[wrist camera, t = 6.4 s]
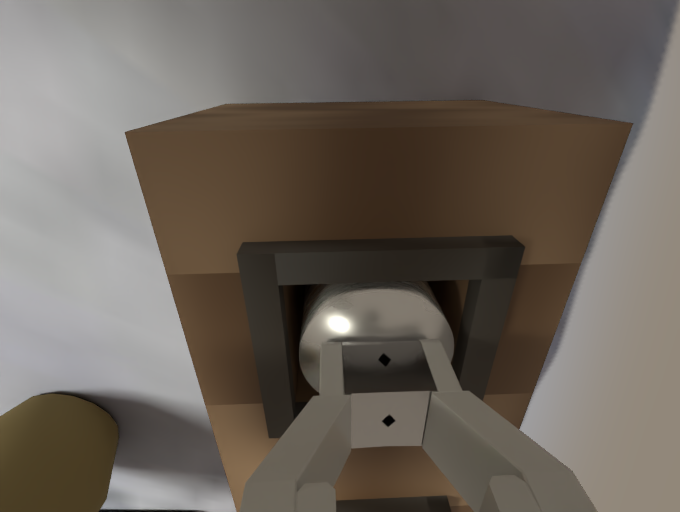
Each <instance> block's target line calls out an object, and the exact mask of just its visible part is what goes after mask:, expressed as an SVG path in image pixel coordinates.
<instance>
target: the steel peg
mask: <svg viewBox="0 0 680 512" xmlns="http://www.w3.org/2000/svg"><path fill="white" fill-rule="evenodd" d="M423 339H439V340H440V341H441V343H442V345H443V347H444V349H445V352H446V354H447V356H448V359H449V361H450V363H451V360H452V357H453V353H454V338H453V334H452V330H451V328H450V326H449V324H448V322H447V320H446V318H445V316H444V314H443V312H442V310H441V307H440V305H439V303H438V301H437V299H436V297H435V295H434V293H433V291H432V289H431V287H430V285H429V283H428V281H407V282H372V283H338V284H306V286H305V296H304V306H303V316H302V326H301V336H300V346H299V362H300V367H301V370H302V372H303V375H304V376H305V378H306V380H307V381H308V382H309V384H310V385H311V386H312V387H313V388H314V389H315V390H316V391H317V392H319V391H320V351H321V343H322V342H341V344H342V342H379V341H405V340H423Z"/></svg>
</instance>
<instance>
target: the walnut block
mask: <svg viewBox="0 0 680 512" xmlns="http://www.w3.org/2000/svg"><path fill="white" fill-rule="evenodd" d="M632 125H633V123H628V122H621V121H615V120H608V119H602V118H595V117H589V116H582V115H576V114H569V113H563V112H556V111H550V110H543V109H537V108H530V107H524V106H517V105H511V104H504V103H498V102H492V101H485V100H454V101H388V102H322V103H256V104H224V105H220V106H217V107H213V108H210V109H206V110H202V111H199V112H195V113H192V114H188V115H184V116H181V117H177V118H174V119H170V120H166V121H163V122H159V123H156V124H152V125H148V126H145V127H141V128H138V129H134V130H130V131H127V132H125V135H126V139H127V142H128V145H129V149H130V152H131V155H132V159H133V162H134V166H135V169H136V172H137V176H138V179H139V182H140V186H141V189H142V193H143V196H144V199H145V203H146V206H147V209H148V213H149V216H150V220H151V223H152V226H153V230H154V233H155V237H156V240H157V243H158V247H159V250H160V253H161V257H162V260H163V264H164V267H165V270H166V274H167V277H168V280H169V284H170V287H171V291H172V294H173V297H174V301H175V304H176V307H177V311H178V314H179V318H180V321H181V324H182V328H183V331H184V335H185V338H186V341H187V345H188V348H189V351H190V355H191V358H192V362H193V365H194V368H195V372H196V375H197V378H198V382H199V385H200V389H201V392H202V395H203V399H204V402H205V405H206V409H207V412H208V416H209V419H210V422H211V426H212V429H213V433H214V436H215V439H216V443H217V446H218V449H219V453H220V456H221V460H222V463H223V466H224V470H225V473H226V476H227V480H228V483H229V487H230V490H231V493H232V497H233V500H234V504H235V507H236V510H237V512H239V511H240V506H241V501H242V497H243V492H244V487H245V483H246V482H247V480H248V479H249V478H250V476H251V475H252V474H253V473H254V471H255V470H256V469H257V467H258V466H259V465H260V464H261V462H262V461H263V460H264V458H265V457H266V456H267V455H268V453H269V452H270V451H271V449H272V448H273V447H274V446H275V444H276V443H277V442H278V440H279V439H280V438H281V437H282V435H283V434H284V433H285V431H286V430H287V429H288V428H289V426H290V425H291V424H292V422H293V421H294V420H295V419H296V417H297V416H298V415H299V413H300V412H301V411H302V410H303V408H304V407H305V406H306V405H307V403H308V402H309V401H310V399H311V398H312V397H313V396H319V392H317V391H316V390H315V389H314V388H313V387H312V386H311V385H310V384H309V382H308V381H307V380H306V378H305V376H304V375H303V372H302V370H301V367H300V362H299V346H300V336H301V326H302V316H303V306H304V296H305V286H306V284H338V283H372V282H407V281H428V283H429V285H430V287H431V289H432V291H433V293H434V295H435V297H436V299H437V301H438V303H439V305H440V307H441V310H442V312H443V314H444V316H445V318H446V320H447V322H448V324H449V326H450V328H451V330H452V334H453V338H454V353H453V357H452V360H451V365H452V368H453V370H454V372H455V375H456V377H457V379H458V381H459V384H460V386H461V388H462V391H470V392H471V393H473V394H474V395H475V396H476V397H478V398H479V399H480V400H482V401H483V402H484V403H485V404H487V405H488V406H489V407H491V408H492V409H493V410H494V411H496V412H497V413H498V414H500V415H501V416H502V417H503V418H505V419H506V420H507V421H509V422H510V423H511V424H513V425H514V426H515V427H516V428H518V429H520V426H521V423H522V420H523V418H524V415H525V412H526V410H527V407H528V404H529V402H530V399H531V396H532V394H533V391H534V388H535V386H536V383H537V380H538V378H539V375H540V372H541V369H542V367H543V364H544V361H545V359H546V356H547V353H548V351H549V348H550V345H551V343H552V340H553V337H554V335H555V332H556V329H557V326H558V324H559V321H560V318H561V316H562V313H563V310H564V308H565V305H566V302H567V300H568V297H569V294H570V292H571V289H572V286H573V284H574V281H575V278H576V275H577V273H578V270H579V267H580V265H581V262H582V259H583V257H584V254H585V251H586V249H587V246H588V243H589V241H590V238H591V235H592V232H593V230H594V227H595V224H596V222H597V219H598V216H599V214H600V211H601V208H602V206H603V203H604V200H605V198H606V195H607V192H608V190H609V187H610V184H611V181H612V179H613V176H614V173H615V171H616V168H617V165H618V163H619V160H620V157H621V155H622V152H623V149H624V147H625V144H626V141H627V138H628V136H629V133H630V130H631V128H632ZM333 488H334V489H335V492H336V512H474V511H473V510H472V509H471V507H470V506H469V505H468V504H467V502H466V501H465V500H464V499H463V498H462V496H461V495H460V494H459V493H458V491H457V490H456V489H455V488H454V486H453V485H452V484H451V483H450V481H449V480H448V479H447V478H446V477H445V475H444V474H443V473H442V472H441V470H440V469H439V468H438V467H437V465H436V464H435V463H434V462H433V461H432V459H431V458H430V457H429V456H428V454H427V453H426V452H425V451H424V449H423V448H422V446H381V447H366V448H352V449H351V452H350V454H349V456H348V458H347V460H346V462H345V465H344V467H343V469H342V471H341V473H340V475H339V477H338V479H337V481H336V483H335V485H334V487H333Z"/></svg>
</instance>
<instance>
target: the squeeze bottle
mask: <svg viewBox="0 0 680 512" xmlns="http://www.w3.org/2000/svg"><path fill="white" fill-rule="evenodd" d="M118 439H119V433H118V425H117V424H116V423H115V421H114V420H113V419H112V417H111V416H110V415H109V414H108V413H107V412H105V411H104V410H102V409H101V408H100V407H98V406H97V405H95V404H94V403H91V402H88V401H86V400H83V399H80V398H77V397H74V396H69V395H61V394H52V393H51V394H44V395H38V396H33V397H31V398H29V399H28V400H26V401H24V402H23V403H21V404H19V405H18V406H16V407H14V408H13V409H11V410H10V411H8V412H6V413H5V414H3V415H2V416H0V512H99V510H100V508H101V507H102V505H103V504H104V502H105V500H106V498H107V493H108V489H109V484H110V479H111V474H112V469H113V464H114V459H115V454H116V449H117V444H118Z"/></svg>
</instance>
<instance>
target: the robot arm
mask: <svg viewBox="0 0 680 512" xmlns="http://www.w3.org/2000/svg"><path fill="white" fill-rule="evenodd" d="M381 446H422V448H423V449H424V451H425V452H426V453H427V454H428V456H429V457H430V458H431V459H432V461H433V462H434V463H435V464H436V465H437V467H438V468H439V469H440V470H441V472H442V473H443V474H444V475H445V477H446V478H447V479H448V480H449V481H450V483H451V484H452V485H453V486H454V488H455V489H456V490H457V491H458V493H459V494H460V495H461V496H462V498H463V499H464V500H465V501H466V502H467V504H468V505H469V506H470V507H471V509H472V510H473V511H474V512H598V511H597V510H596V508H595V507H594V505H593V503H592V502H591V500H590V499H589V497H588V495H587V494H586V492H585V490H584V489H583V487H582V486H581V484H580V483H579V481H578V479H577V478H576V476H575V474H574V473H573V471H571V470H570V469H569V468H568V467H567V466H565V465H564V464H563V463H561V462H560V461H559V460H558V459H556V458H555V457H554V456H552V455H551V454H550V453H549V452H547V451H546V450H545V449H543V448H542V447H541V446H540V445H538V444H537V443H536V442H534V441H533V440H532V439H531V438H529V437H528V436H526V435H525V434H524V433H523V432H522V431H520V430H519V429H518V428H516V427H515V426H514V425H513V424H511V423H510V422H509V421H507V420H506V419H505V418H503V417H502V416H501V415H500V414H498V413H497V412H496V411H494V410H493V409H492V408H491V407H489V406H488V405H487V404H485V403H484V402H483V401H482V400H480V399H479V398H478V397H476V396H475V395H474V394H473V393H471V392H470V391H462V388H461V386H460V384H459V381H458V379H457V377H456V375H455V372H454V370H453V368H452V365H451V363H450V361H449V359H448V356H447V354H446V352H445V349H444V347H443V345H442V343H441V341H440V340H439V339H423V340H405V341H379V342H342V344H341V342H322V343H321V351H320V391H319V396H313V397H312V398H311V399H310V401H309V402H308V403H307V405H306V406H305V407H304V408H303V410H302V411H301V412H300V413H299V415H298V416H297V417H296V419H295V420H294V421H293V422H292V424H291V425H290V426H289V428H288V429H287V430H286V431H285V433H284V434H283V435H282V437H281V438H280V439H279V440H278V442H277V443H276V444H275V446H274V447H273V448H272V449H271V451H270V452H269V453H268V455H267V456H266V457H265V458H264V460H263V461H262V462H261V464H260V465H259V466H258V467H257V469H256V470H255V471H254V473H253V474H252V475H251V476H250V478H249V479H248V480H247V482H246V483H245V487H244V492H243V497H242V501H241V506H240V511H239V512H336V492H335V489H334V488H333V487H334V485H335V483H336V481H337V479H338V477H339V475H340V473H341V471H342V469H343V467H344V465H345V462H346V460H347V458H348V456H349V454H350V452H351V449H352V448H366V447H381Z"/></svg>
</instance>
